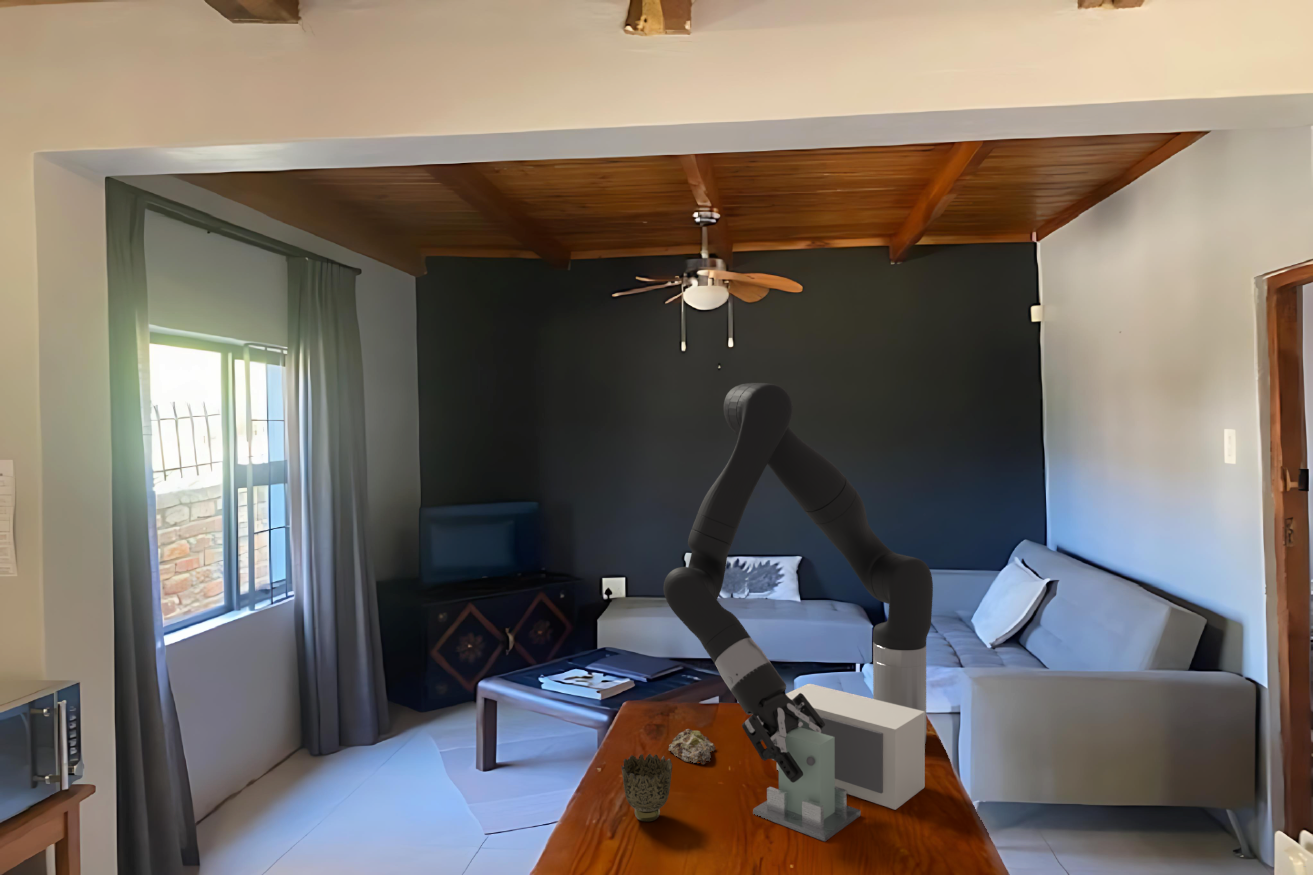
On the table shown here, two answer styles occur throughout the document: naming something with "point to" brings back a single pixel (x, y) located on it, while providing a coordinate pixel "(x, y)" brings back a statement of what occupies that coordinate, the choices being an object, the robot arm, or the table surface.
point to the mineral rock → (692, 746)
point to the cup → (647, 784)
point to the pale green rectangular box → (810, 770)
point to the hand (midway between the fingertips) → (814, 769)
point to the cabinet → (871, 744)
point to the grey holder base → (808, 814)
